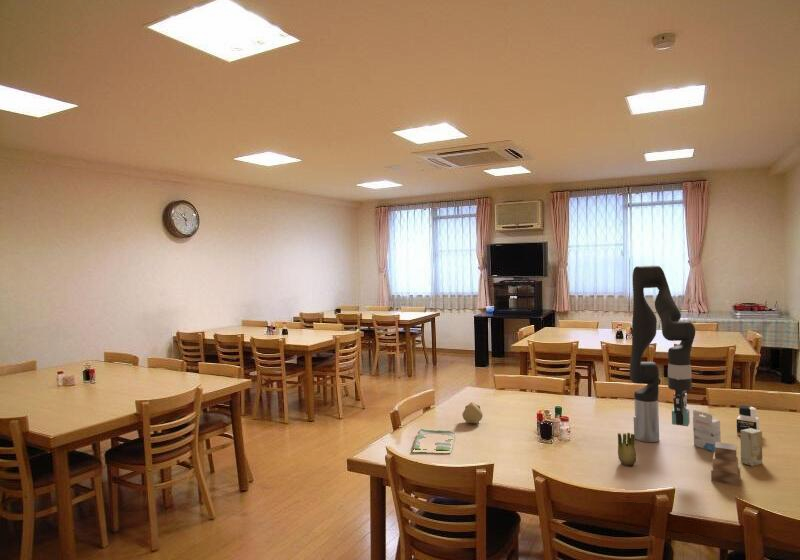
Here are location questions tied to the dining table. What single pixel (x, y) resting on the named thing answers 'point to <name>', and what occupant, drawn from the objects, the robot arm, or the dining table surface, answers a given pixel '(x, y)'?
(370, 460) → the dining table surface
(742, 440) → the skincare box
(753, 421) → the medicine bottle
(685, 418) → the cube
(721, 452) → the tower top
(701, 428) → the ink box
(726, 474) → the tower base
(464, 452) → the dining table surface
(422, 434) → the green white rectangular tray
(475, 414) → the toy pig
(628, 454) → the fennel bulb
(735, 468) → the tower mid
